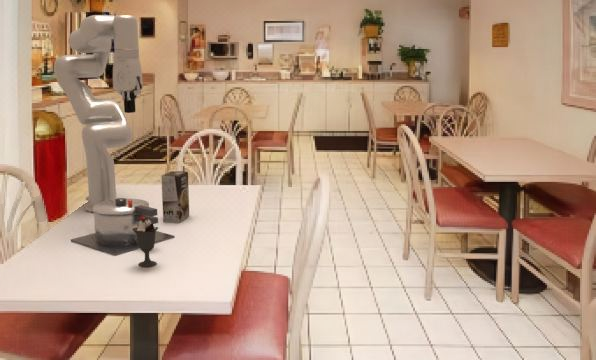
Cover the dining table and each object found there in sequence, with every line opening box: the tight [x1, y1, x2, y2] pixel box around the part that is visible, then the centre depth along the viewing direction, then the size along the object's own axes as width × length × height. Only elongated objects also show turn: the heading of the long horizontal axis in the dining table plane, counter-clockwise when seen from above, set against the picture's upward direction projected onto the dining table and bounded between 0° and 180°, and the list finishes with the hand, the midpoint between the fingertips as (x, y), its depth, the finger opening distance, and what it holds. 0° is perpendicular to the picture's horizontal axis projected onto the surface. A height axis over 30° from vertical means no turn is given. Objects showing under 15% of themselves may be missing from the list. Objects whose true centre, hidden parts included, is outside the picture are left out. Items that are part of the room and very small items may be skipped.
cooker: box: [70, 212, 175, 256], centre depth 188 cm, size 26×22×10 cm
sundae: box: [133, 210, 159, 268], centre depth 167 cm, size 7×7×15 cm
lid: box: [92, 197, 158, 217], centre depth 186 cm, size 24×16×3 cm
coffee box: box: [161, 170, 190, 224], centre depth 212 cm, size 9×6×16 cm
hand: (130, 112), depth 202 cm, fingers closed
